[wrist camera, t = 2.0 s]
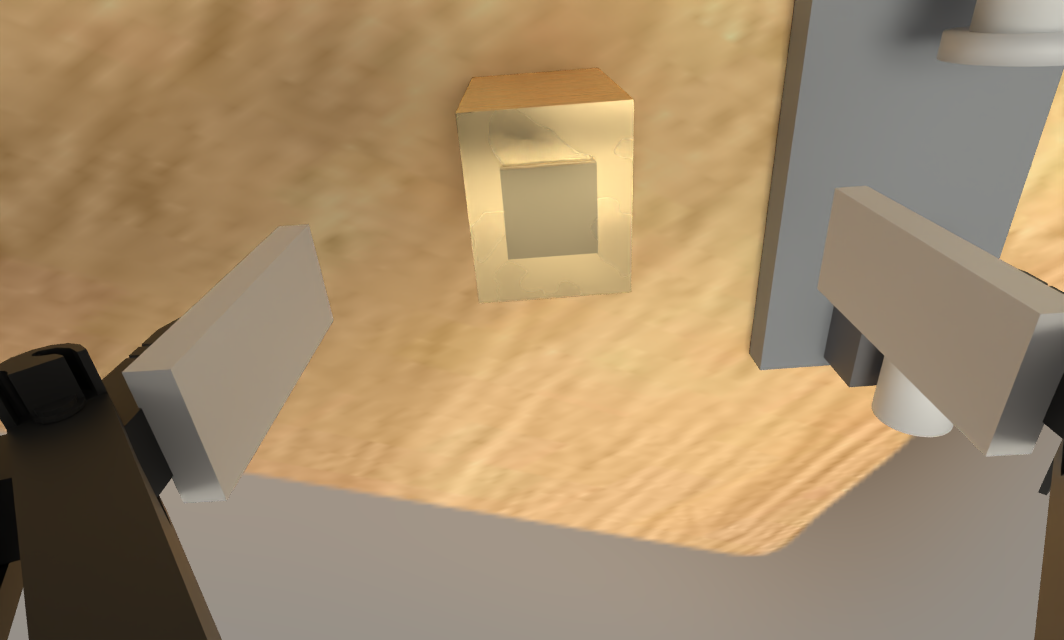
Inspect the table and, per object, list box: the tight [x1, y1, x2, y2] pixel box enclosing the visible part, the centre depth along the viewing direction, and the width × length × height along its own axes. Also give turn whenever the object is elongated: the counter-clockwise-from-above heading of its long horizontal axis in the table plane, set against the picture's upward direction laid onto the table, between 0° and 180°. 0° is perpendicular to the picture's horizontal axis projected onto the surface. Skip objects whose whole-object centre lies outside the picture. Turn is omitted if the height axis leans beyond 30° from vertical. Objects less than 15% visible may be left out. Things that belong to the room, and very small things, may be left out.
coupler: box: [455, 68, 634, 303], centre depth 21 cm, size 5×6×8 cm
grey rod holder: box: [749, 0, 1064, 437], centre depth 22 cm, size 10×20×8 cm, turn 4°
